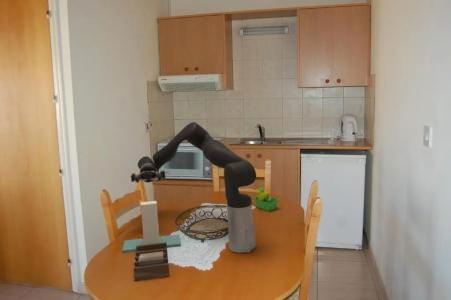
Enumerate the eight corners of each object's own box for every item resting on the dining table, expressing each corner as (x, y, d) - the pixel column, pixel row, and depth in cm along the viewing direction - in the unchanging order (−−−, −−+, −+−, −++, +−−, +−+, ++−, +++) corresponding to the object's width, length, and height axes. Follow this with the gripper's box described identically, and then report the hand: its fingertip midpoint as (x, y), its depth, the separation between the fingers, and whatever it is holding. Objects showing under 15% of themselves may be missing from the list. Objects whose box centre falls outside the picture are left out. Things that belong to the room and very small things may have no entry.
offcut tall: (139, 274, 124) (138, 258, 123) (164, 271, 126) (163, 255, 125) (139, 277, 122) (138, 261, 121) (164, 274, 123) (163, 258, 123)
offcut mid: (140, 268, 128) (139, 256, 128) (164, 265, 130) (163, 253, 129) (140, 272, 126) (138, 259, 125) (164, 268, 127) (163, 256, 127)
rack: (137, 258, 139) (136, 245, 138) (167, 254, 141) (166, 242, 140) (134, 283, 120) (133, 268, 120) (169, 278, 122) (168, 264, 122)
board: (124, 245, 152) (124, 240, 152) (179, 238, 156) (179, 234, 156) (122, 255, 142) (122, 250, 142) (181, 248, 146) (180, 243, 146)
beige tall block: (144, 241, 150) (141, 202, 148) (159, 239, 151) (156, 200, 149) (144, 244, 146) (140, 205, 144) (159, 243, 148) (156, 203, 145)
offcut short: (140, 263, 132) (139, 254, 132) (163, 260, 134) (162, 251, 133) (140, 266, 130) (139, 257, 129) (163, 263, 131) (163, 254, 131)
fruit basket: (279, 209, 189) (278, 187, 187) (266, 213, 184) (265, 190, 182) (264, 204, 198) (264, 183, 197) (251, 207, 194) (250, 186, 192)
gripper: (131, 165, 168) (129, 171, 153) (163, 162, 171) (165, 168, 155) (132, 182, 169) (131, 190, 154) (164, 179, 172) (166, 186, 156)
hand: (148, 179), depth 154 cm, fingers open, 8 cm apart
